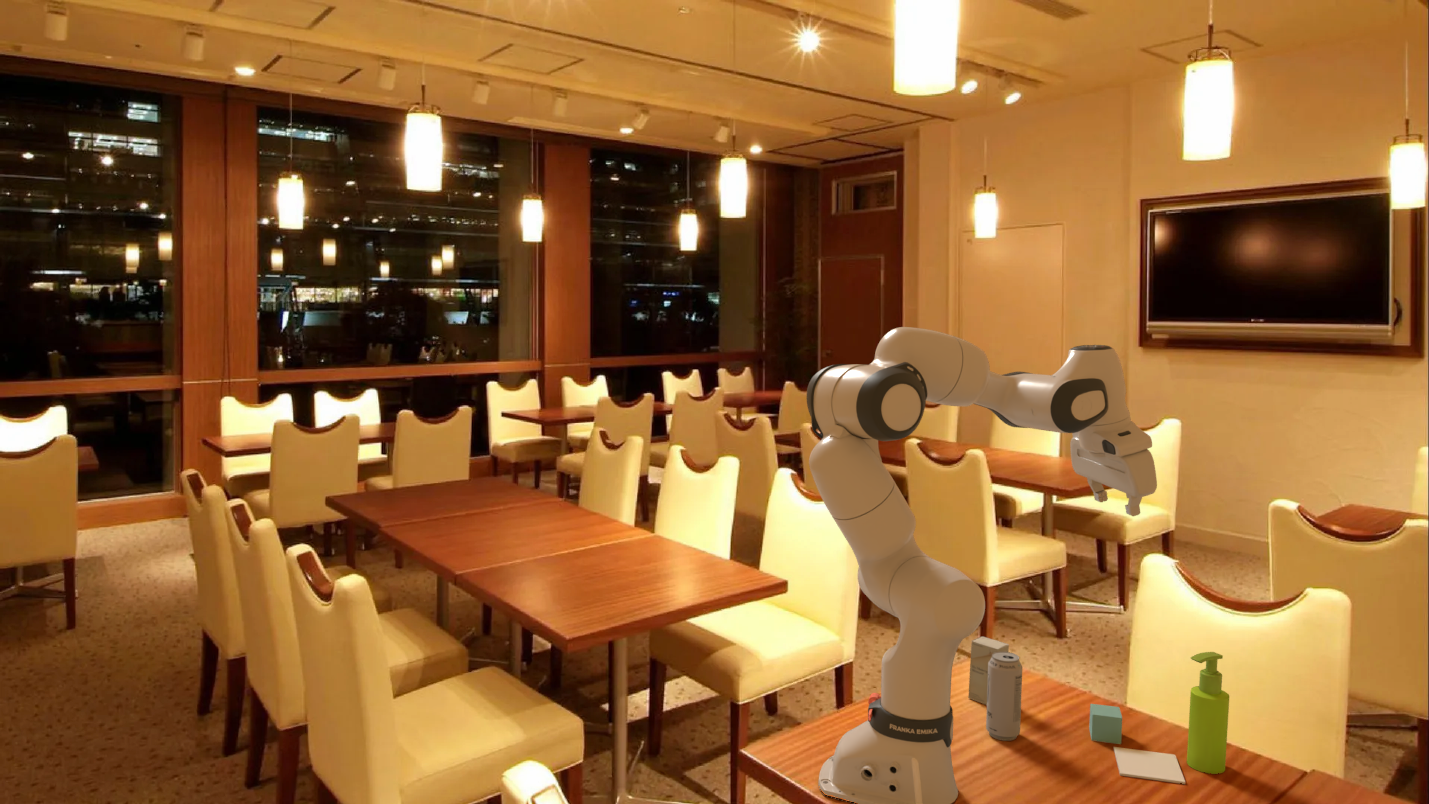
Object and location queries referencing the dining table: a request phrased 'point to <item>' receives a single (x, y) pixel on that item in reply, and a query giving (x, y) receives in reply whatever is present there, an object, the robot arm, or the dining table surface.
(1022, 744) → the dining table surface
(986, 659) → the skincare box
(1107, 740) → the block
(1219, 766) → the soap dispenser
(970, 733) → the dining table surface
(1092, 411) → the robot arm
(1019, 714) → the energy drink can
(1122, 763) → the coaster
